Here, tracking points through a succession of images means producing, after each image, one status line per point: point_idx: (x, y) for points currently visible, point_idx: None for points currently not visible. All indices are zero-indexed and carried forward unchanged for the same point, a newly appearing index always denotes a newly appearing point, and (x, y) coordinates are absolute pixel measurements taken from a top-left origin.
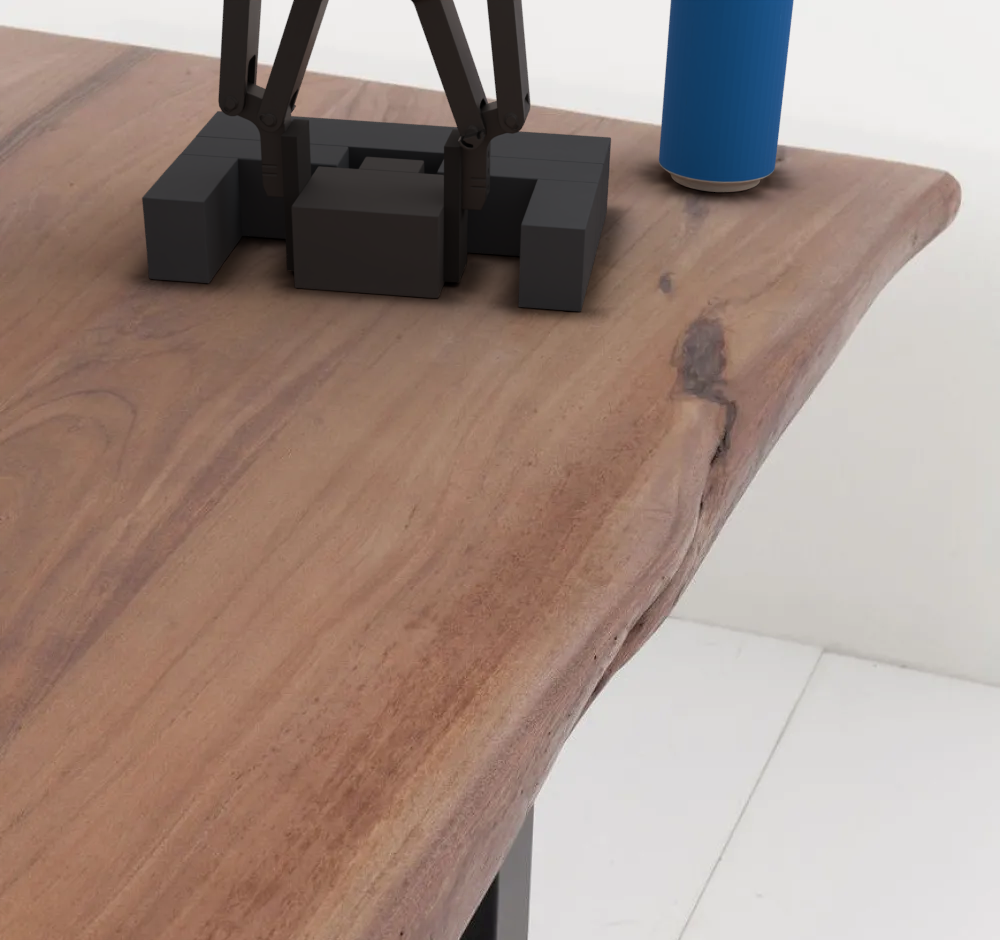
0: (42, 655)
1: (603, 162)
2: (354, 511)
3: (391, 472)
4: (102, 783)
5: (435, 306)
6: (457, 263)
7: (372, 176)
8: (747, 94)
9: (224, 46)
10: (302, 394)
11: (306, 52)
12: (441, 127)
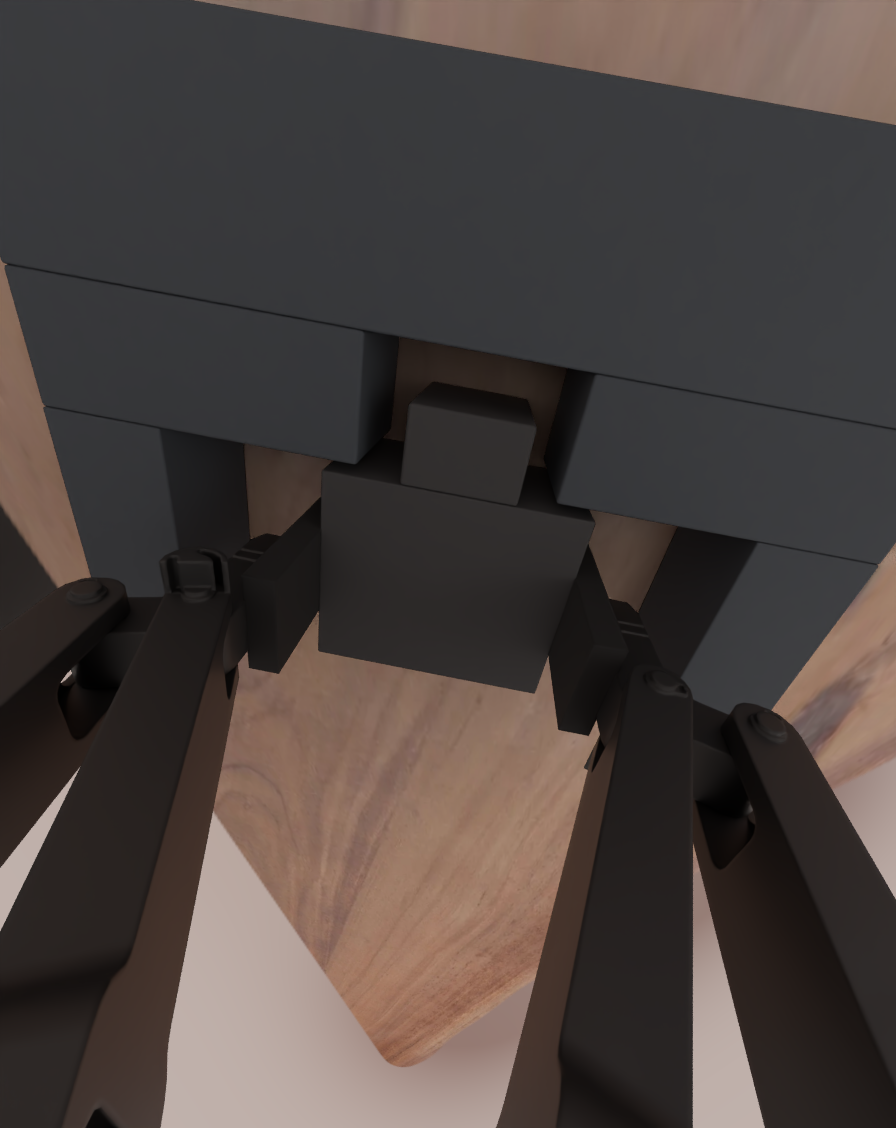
0: (317, 946)
1: None
2: (447, 891)
3: (470, 865)
4: (364, 990)
5: None
6: None
7: (429, 528)
8: None
9: None
10: (398, 781)
11: (207, 807)
12: (621, 100)
